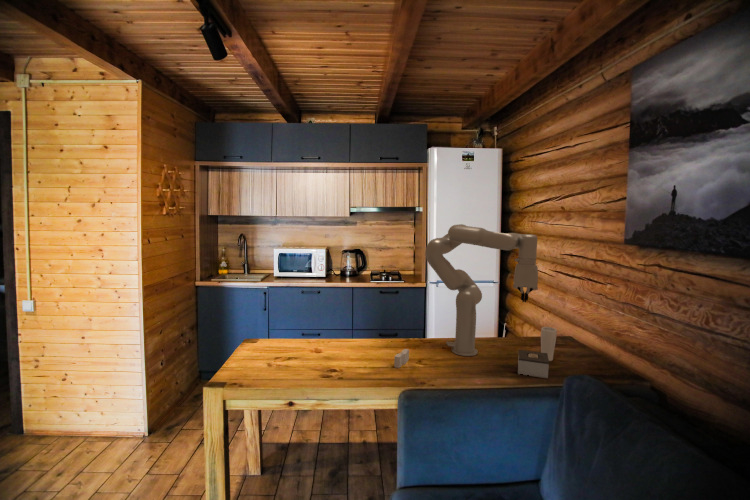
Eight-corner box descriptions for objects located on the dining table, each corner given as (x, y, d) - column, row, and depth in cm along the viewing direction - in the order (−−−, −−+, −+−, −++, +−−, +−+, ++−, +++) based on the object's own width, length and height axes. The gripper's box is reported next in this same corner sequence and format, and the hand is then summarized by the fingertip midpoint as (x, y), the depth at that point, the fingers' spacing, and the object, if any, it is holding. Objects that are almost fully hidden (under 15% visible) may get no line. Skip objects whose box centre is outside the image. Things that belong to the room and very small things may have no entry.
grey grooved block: (406, 357, 198) (406, 345, 198) (421, 365, 189) (421, 353, 188) (379, 363, 190) (379, 350, 190) (393, 371, 181) (393, 359, 180)
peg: (527, 369, 183) (528, 356, 182) (527, 366, 187) (528, 353, 186) (537, 370, 182) (538, 357, 181) (537, 367, 186) (538, 354, 185)
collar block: (517, 374, 181) (518, 358, 180) (517, 364, 192) (518, 349, 191) (547, 378, 177) (548, 362, 176) (546, 368, 188) (547, 353, 187)
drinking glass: (555, 362, 195) (558, 331, 194) (540, 361, 197) (542, 330, 195) (552, 357, 202) (555, 327, 200) (538, 356, 203) (540, 326, 202)
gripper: (509, 261, 187) (506, 301, 189) (545, 264, 183) (542, 305, 185) (509, 259, 194) (507, 298, 196) (544, 261, 190) (541, 301, 192)
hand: (524, 301), depth 190 cm, fingers closed
